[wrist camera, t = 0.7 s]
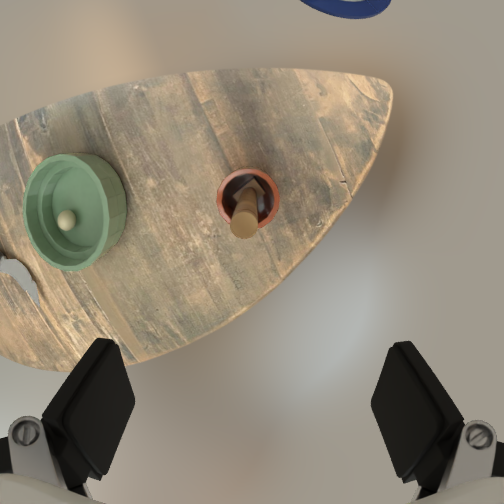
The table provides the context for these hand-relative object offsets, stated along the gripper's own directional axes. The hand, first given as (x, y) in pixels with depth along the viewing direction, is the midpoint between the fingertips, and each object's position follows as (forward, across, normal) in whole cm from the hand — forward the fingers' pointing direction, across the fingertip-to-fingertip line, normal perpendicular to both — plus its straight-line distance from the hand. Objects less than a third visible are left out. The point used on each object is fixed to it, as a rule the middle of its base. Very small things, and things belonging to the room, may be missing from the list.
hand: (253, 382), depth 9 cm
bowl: (+30, +25, -2) cm, 39 cm away
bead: (+28, +27, 0) cm, 38 cm away
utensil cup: (+30, +1, -3) cm, 30 cm away
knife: (+30, +46, +8) cm, 55 cm away
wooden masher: (+29, +1, -3) cm, 29 cm away
